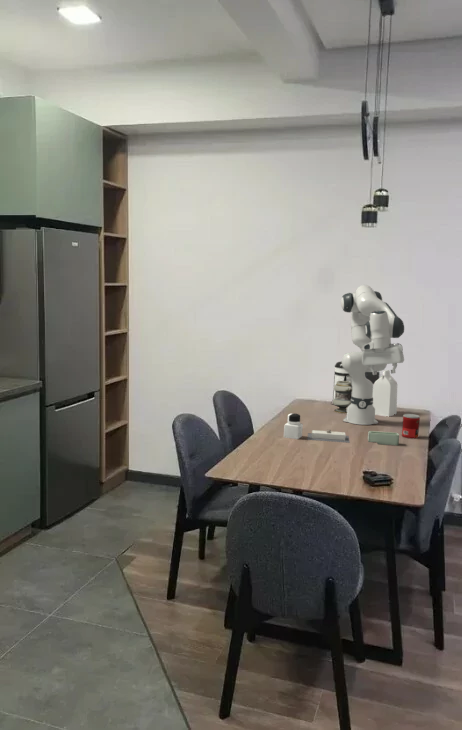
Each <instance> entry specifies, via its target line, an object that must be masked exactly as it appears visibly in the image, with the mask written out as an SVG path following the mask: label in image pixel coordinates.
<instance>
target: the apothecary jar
mask: <svg viewBox="0 0 462 730" xmlns="http://www.w3.org/2000/svg"><path fill="white" fill-rule="evenodd" d="M333 390H335V399H334V400H333V399H332V400H333V401H332V404H333V405H334V406H336V407H337V408H335V409H334V411H333V412H334V413H339V414H347V412H346V411H347V408H348V406H349V405H350V404H351V392H352V385H351V382H349V381H337V384H336V385H335V386H334V385H333Z"/></svg>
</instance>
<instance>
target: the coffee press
mask: <svg viewBox="0 0 462 730" xmlns="http://www.w3.org/2000/svg"><path fill="white" fill-rule="evenodd" d="M337 381H349V382H351V385H352V380H351V377H350V375H349V373H348V372H347V371H346V370H345V369H344V368H343V366H342V360H341V361H338V362H336V363H335V364H334V376H333V387H334V386H335V385H336V384H337ZM332 393H333V394H332V401H331V402H330V404H331V405H334V404H333V400H334V399H335V390H334V389H333V392H332ZM351 396H352V392H351Z"/></svg>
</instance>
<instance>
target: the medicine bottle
mask: <svg viewBox="0 0 462 730" xmlns="http://www.w3.org/2000/svg"><path fill="white" fill-rule="evenodd" d="M283 426H284V427H283V438H286V439H294V440H299V439H300V438H302V437H303V427H304V424H303V423H301V415H300V414H299V413H289V414H287V422H286V423H285V424H284V425H283Z"/></svg>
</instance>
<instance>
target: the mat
mask: <svg viewBox="0 0 462 730" xmlns="http://www.w3.org/2000/svg"><path fill="white" fill-rule="evenodd" d="M307 441H318V442H319V441H320V442H335V443H348V444H349V443H351V442H350V437H349V435H346V436H345V440H333V439H319V438H312V432H311V433H310V432H308V433H307Z"/></svg>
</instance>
